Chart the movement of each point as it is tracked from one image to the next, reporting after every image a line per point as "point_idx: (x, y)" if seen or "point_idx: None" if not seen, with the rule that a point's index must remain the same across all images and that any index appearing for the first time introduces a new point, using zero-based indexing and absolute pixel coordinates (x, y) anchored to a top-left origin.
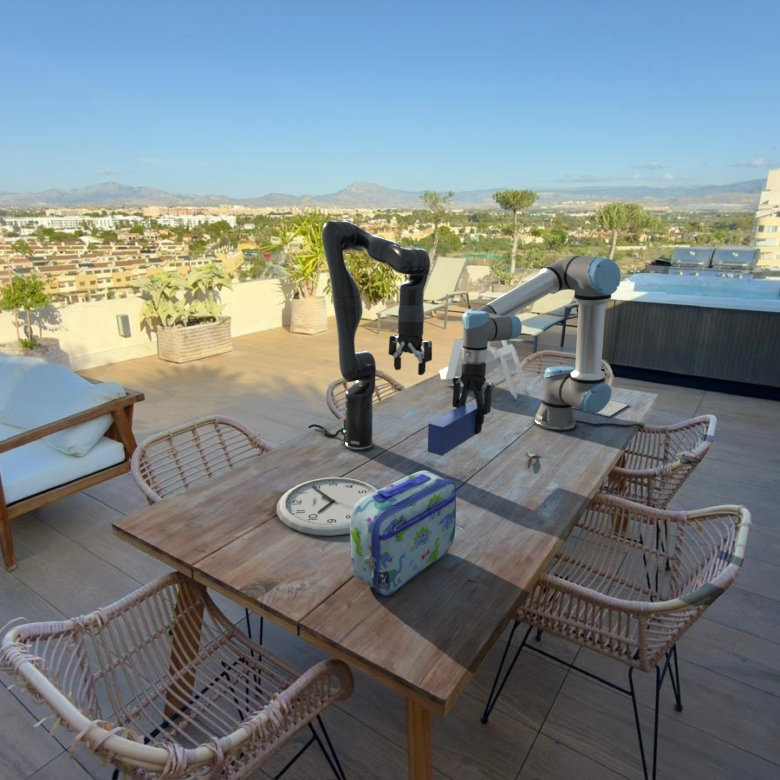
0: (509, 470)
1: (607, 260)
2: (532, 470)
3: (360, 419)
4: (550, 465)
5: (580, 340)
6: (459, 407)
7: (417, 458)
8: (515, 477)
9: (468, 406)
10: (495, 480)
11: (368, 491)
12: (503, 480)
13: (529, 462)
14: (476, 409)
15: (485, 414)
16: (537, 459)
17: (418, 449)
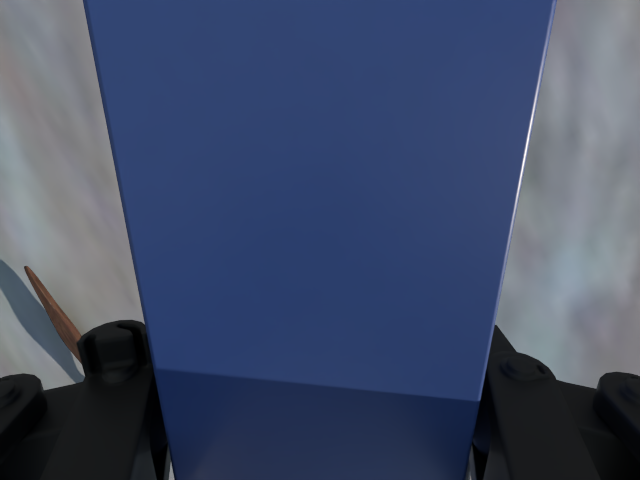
0: (92, 210)
1: None
2: (22, 276)
3: None
4: (7, 362)
5: None
6: (489, 301)
7: (575, 12)
8: (21, 156)
9: (353, 443)
10: (64, 50)
11: None
12: (36, 81)
13: (58, 322)
14: (168, 416)
15: (13, 375)
16: (81, 381)
17: (615, 136)
